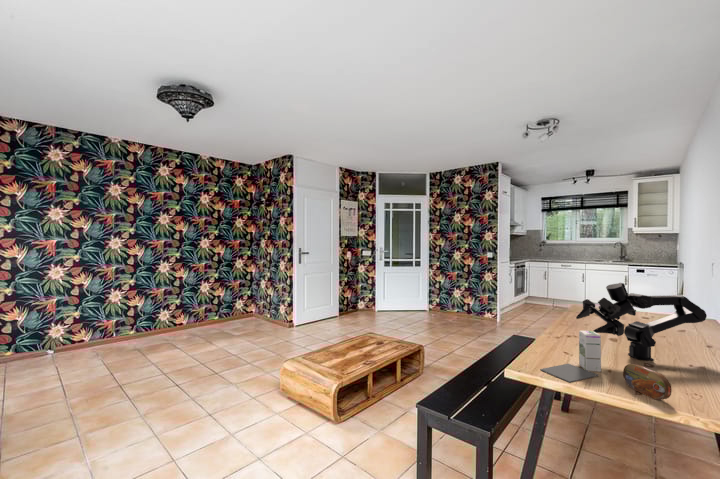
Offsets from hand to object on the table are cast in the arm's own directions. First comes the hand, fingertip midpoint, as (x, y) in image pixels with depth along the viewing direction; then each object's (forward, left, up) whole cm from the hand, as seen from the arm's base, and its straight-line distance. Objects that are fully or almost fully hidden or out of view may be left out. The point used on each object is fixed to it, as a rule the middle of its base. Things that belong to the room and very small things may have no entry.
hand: (584, 324), depth 142 cm
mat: (+15, +18, -14) cm, 28 cm away
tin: (-2, +33, -15) cm, 36 cm away
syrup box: (+5, +13, -15) cm, 20 cm away
